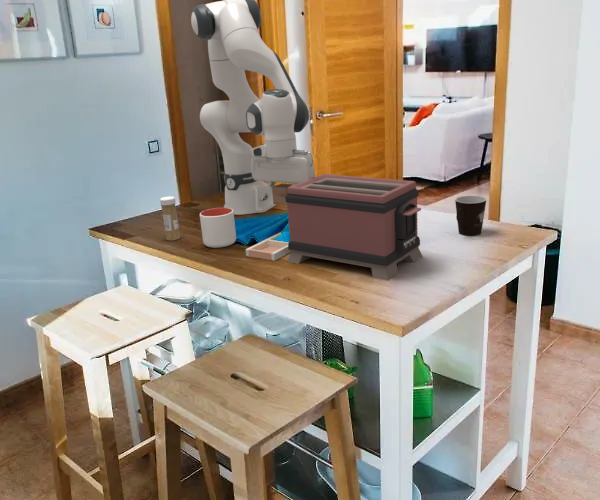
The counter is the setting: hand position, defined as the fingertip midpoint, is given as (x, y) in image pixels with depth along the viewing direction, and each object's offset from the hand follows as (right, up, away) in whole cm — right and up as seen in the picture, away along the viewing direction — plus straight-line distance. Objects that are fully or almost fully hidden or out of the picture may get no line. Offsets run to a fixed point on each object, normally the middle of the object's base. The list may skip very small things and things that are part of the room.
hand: (284, 197), depth 173 cm
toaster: (+20, -18, -13) cm, 30 cm away
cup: (-20, -14, +10) cm, 26 cm away
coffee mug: (+53, -11, +2) cm, 54 cm away
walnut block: (0, -2, +1) cm, 2 cm away
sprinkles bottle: (-36, -12, +18) cm, 42 cm away
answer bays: (-1, -15, +1) cm, 15 cm away
